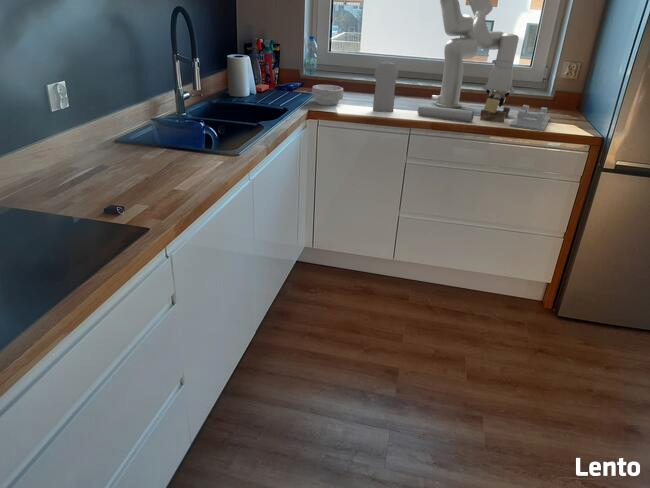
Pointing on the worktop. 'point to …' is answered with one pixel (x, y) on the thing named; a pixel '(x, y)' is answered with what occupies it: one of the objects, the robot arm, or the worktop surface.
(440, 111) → the tube
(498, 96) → the tan square beam
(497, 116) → the beam saddles
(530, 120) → the v block stand
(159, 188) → the worktop surface
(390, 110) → the tall pale column
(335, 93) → the paper bowls
